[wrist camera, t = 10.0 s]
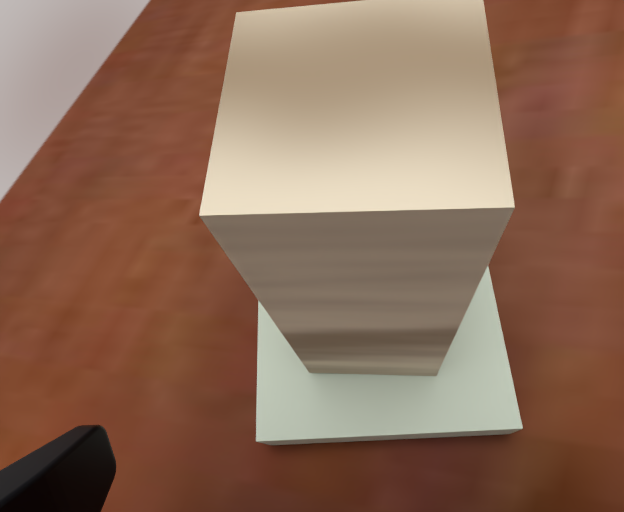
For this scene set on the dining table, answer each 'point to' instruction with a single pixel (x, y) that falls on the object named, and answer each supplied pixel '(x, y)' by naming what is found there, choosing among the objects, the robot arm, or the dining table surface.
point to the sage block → (390, 390)
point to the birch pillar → (361, 176)
